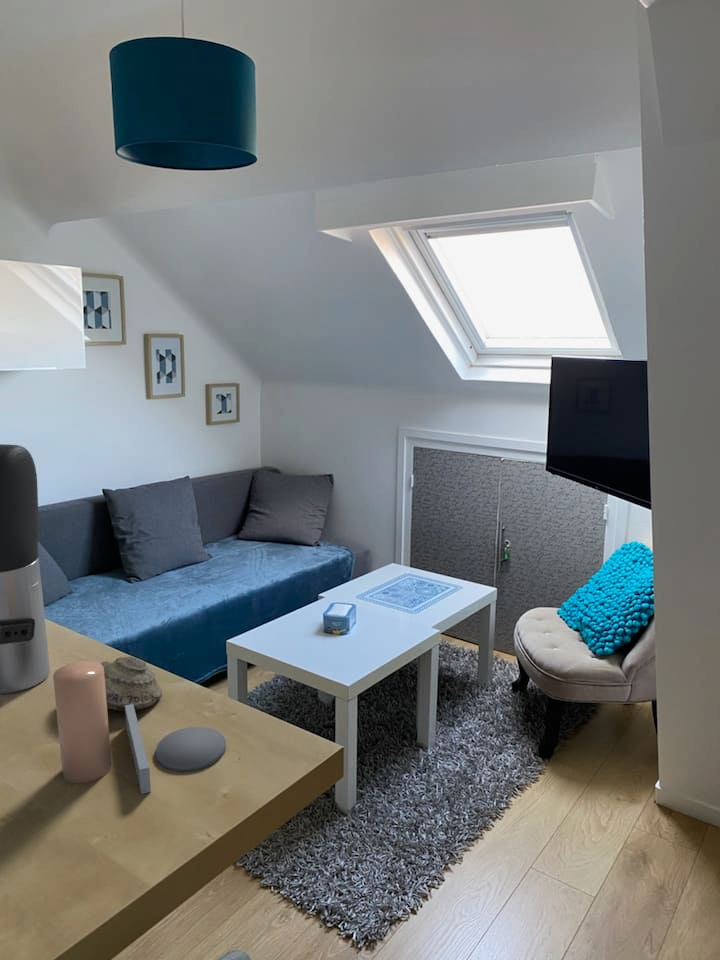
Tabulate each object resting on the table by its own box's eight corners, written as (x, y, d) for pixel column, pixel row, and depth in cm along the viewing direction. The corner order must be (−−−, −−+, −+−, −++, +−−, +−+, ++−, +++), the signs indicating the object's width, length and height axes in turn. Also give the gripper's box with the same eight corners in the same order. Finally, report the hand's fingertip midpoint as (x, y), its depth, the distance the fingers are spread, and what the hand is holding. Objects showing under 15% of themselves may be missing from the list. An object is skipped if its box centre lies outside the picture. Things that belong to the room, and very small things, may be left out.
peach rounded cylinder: (62, 761, 85) (52, 666, 82) (109, 751, 87) (101, 657, 84) (63, 787, 80) (53, 687, 77) (113, 776, 82) (105, 678, 79)
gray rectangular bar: (126, 727, 92) (124, 705, 91) (134, 725, 92) (133, 703, 91) (141, 794, 79) (139, 769, 78) (150, 792, 79) (149, 767, 79)
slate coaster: (151, 739, 89) (151, 735, 89) (217, 725, 92) (217, 721, 92) (162, 777, 82) (161, 773, 82) (233, 760, 85) (232, 756, 85)
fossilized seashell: (131, 718, 90) (116, 663, 91) (61, 734, 93) (47, 680, 94) (175, 692, 101) (162, 642, 101) (111, 707, 104) (99, 658, 104)
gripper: (-143, 610, 57) (52, 595, 70) (-203, 581, 66) (-20, 572, 79) (-151, 706, 57) (45, 673, 70) (-211, 664, 66) (-27, 641, 79)
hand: (10, 619), depth 75 cm, fingers open, 8 cm apart
